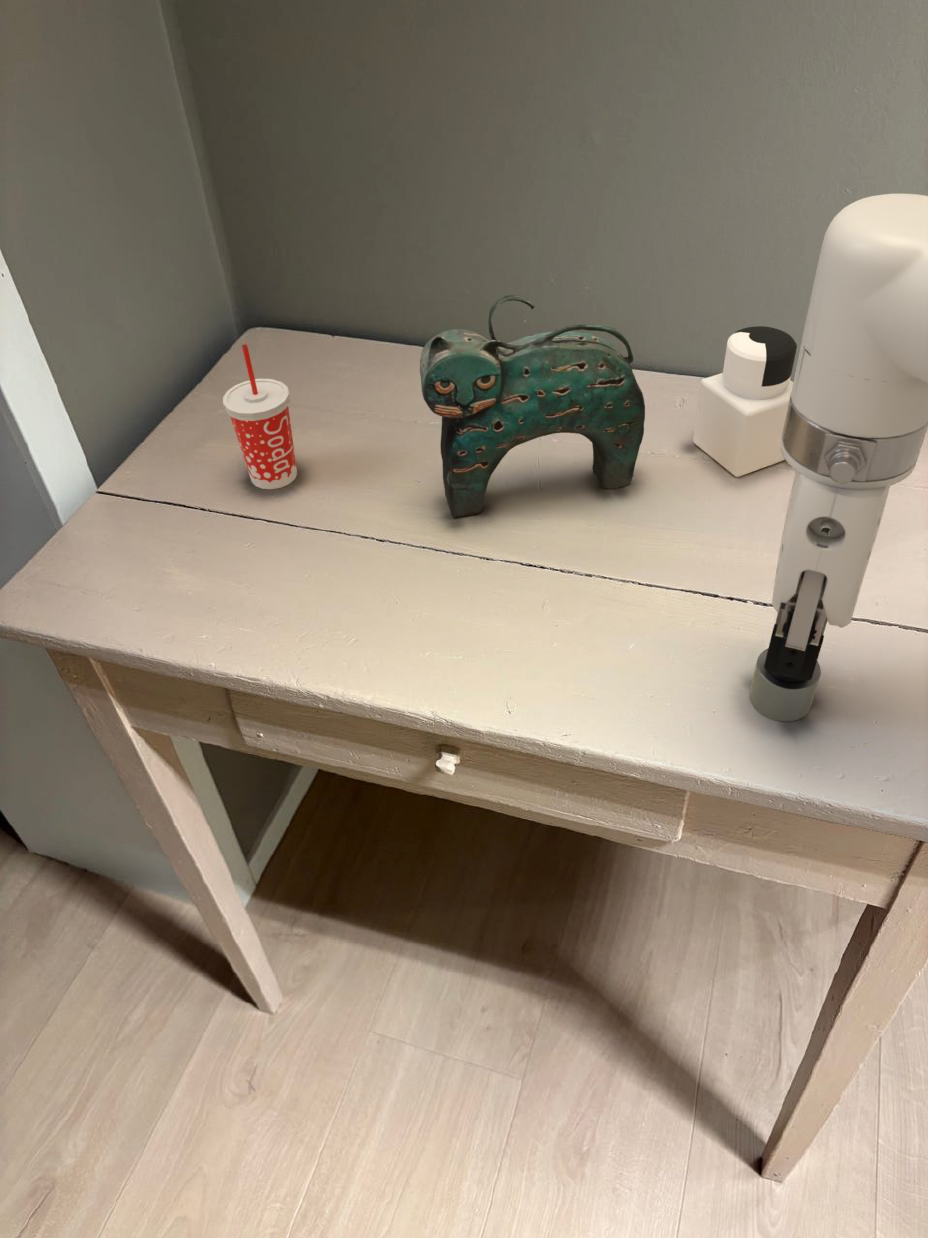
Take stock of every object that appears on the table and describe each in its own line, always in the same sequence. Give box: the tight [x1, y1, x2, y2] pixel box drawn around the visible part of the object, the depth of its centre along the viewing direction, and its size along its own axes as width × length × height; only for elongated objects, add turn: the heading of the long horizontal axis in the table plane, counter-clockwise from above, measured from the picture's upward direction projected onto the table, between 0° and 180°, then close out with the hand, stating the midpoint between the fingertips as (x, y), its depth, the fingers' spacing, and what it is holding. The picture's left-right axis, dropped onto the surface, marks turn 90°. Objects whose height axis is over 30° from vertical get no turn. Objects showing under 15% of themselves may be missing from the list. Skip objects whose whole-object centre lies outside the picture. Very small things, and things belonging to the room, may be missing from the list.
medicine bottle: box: [692, 325, 798, 478], centre depth 89 cm, size 7×7×12 cm
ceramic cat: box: [419, 294, 646, 519], centre depth 84 cm, size 20×6×20 cm, turn 102°
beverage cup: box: [222, 344, 298, 490], centre depth 90 cm, size 6×6×14 cm
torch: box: [749, 609, 828, 723], centre depth 67 cm, size 4×4×10 cm
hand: (792, 651), depth 67 cm, fingers closed on torch, 3 cm apart
